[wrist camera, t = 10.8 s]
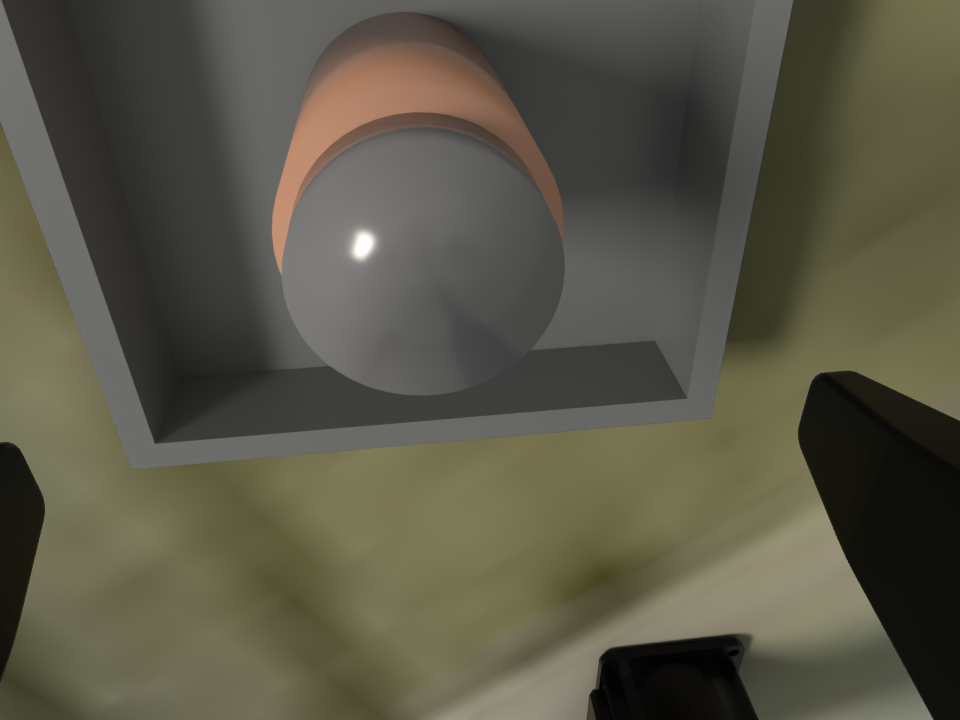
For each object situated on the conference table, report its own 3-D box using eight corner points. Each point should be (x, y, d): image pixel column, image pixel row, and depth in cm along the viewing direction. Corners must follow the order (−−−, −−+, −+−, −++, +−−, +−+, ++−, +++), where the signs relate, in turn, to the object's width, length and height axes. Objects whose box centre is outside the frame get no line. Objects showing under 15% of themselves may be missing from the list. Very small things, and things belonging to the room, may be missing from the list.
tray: (767, -304, 15) (860, -340, 12) (670, 349, 24) (710, 418, 21) (-57, -298, 14) (-173, -336, 11) (163, 389, 23) (132, 469, 20)
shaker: (505, 7, 18) (593, 111, 11) (505, 208, 20) (575, 395, 13) (287, 16, 17) (230, 132, 10) (318, 221, 20) (289, 421, 13)
